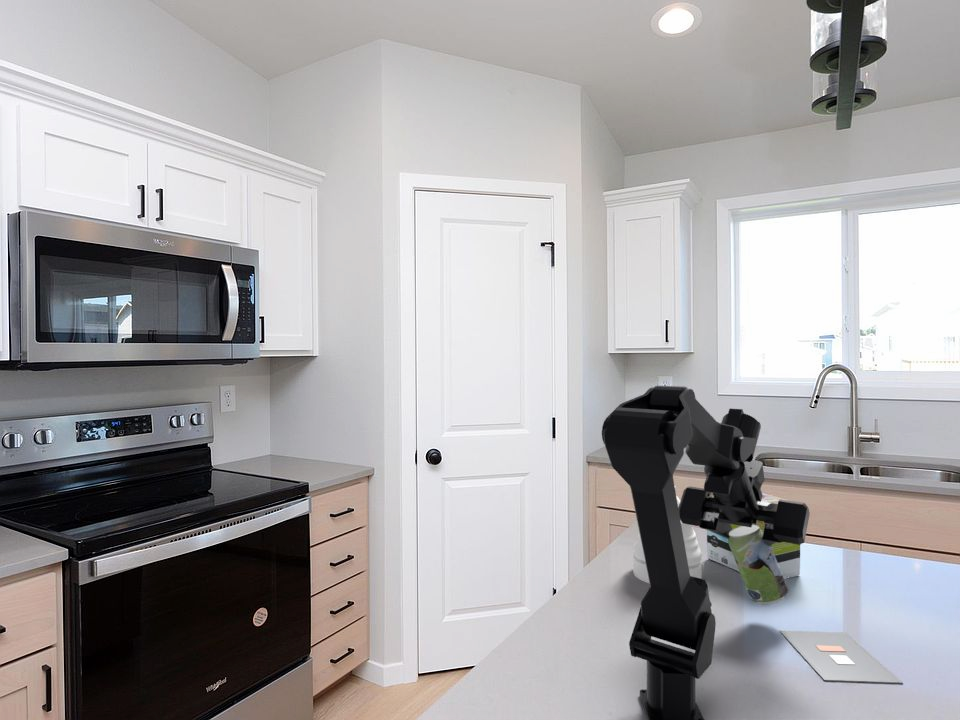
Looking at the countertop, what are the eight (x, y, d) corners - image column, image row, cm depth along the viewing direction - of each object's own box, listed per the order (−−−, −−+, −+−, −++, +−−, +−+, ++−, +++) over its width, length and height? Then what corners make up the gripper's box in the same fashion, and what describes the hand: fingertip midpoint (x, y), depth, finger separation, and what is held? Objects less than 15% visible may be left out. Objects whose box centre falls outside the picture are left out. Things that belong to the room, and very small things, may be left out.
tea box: (704, 559, 126) (705, 489, 126) (739, 552, 130) (739, 485, 130) (765, 585, 112) (766, 506, 112) (802, 576, 117) (802, 501, 116)
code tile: (902, 683, 79) (902, 681, 79) (824, 680, 80) (824, 679, 80) (846, 633, 93) (846, 632, 93) (779, 631, 94) (779, 630, 94)
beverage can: (798, 600, 95) (781, 525, 96) (757, 612, 94) (739, 535, 94) (773, 589, 101) (757, 518, 102) (734, 600, 100) (718, 528, 101)
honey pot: (708, 590, 110) (708, 492, 110) (636, 585, 112) (636, 490, 112) (695, 565, 123) (695, 477, 123) (630, 561, 125) (630, 475, 125)
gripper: (807, 451, 90) (821, 510, 98) (684, 439, 101) (706, 492, 110) (795, 514, 84) (810, 571, 92) (665, 494, 95) (690, 546, 104)
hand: (750, 541), depth 100 cm, fingers closed on beverage can, 6 cm apart
